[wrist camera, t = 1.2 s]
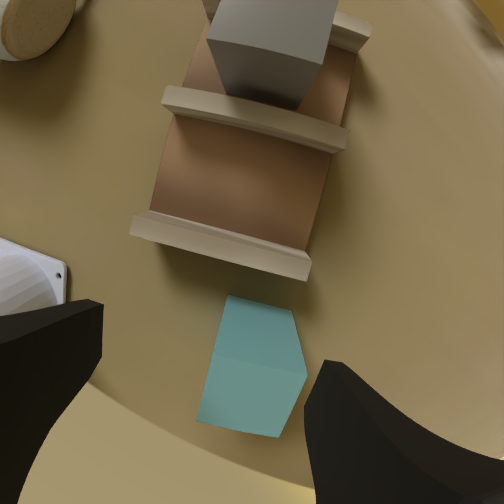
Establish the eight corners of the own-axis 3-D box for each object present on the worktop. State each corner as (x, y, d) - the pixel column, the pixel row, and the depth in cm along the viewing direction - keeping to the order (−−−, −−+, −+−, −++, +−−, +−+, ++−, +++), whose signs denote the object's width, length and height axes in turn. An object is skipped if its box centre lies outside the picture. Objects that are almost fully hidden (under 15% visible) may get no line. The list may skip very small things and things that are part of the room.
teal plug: (273, 363, 20) (278, 437, 13) (213, 349, 20) (195, 421, 13) (291, 310, 19) (307, 375, 12) (228, 294, 19) (212, 354, 12)
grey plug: (296, 110, 16) (322, 64, 9) (225, 92, 15) (205, 38, 9) (312, 50, 15) (341, -15, 8) (244, 34, 15) (238, -38, 8)
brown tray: (297, 264, 18) (306, 281, 15) (150, 225, 18) (129, 234, 15) (355, 46, 15) (372, 23, 12) (214, 11, 15) (206, -16, 12)
